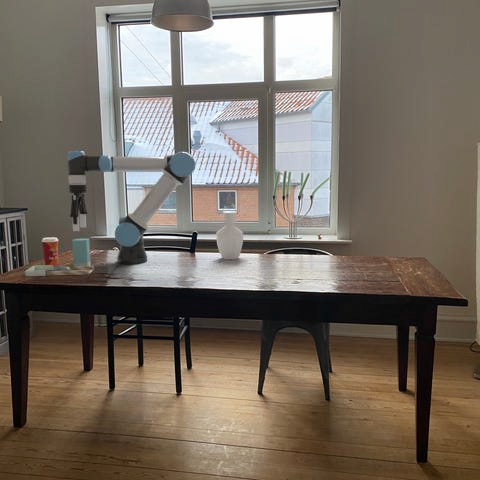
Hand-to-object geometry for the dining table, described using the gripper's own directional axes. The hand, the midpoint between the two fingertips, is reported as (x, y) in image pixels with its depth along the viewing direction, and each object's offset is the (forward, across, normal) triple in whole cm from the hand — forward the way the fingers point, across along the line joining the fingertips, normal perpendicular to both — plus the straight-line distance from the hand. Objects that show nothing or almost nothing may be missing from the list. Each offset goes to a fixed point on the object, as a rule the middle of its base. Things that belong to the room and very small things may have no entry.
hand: (79, 229), depth 214 cm
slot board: (+19, +12, -2) cm, 23 cm away
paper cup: (+19, -6, -16) cm, 26 cm away
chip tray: (+19, +12, -16) cm, 28 cm away
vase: (+19, -17, +73) cm, 78 cm away
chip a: (+18, +14, -4) cm, 23 cm away
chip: (+18, +10, -8) cm, 22 cm away
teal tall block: (+19, 0, 0) cm, 19 cm away
